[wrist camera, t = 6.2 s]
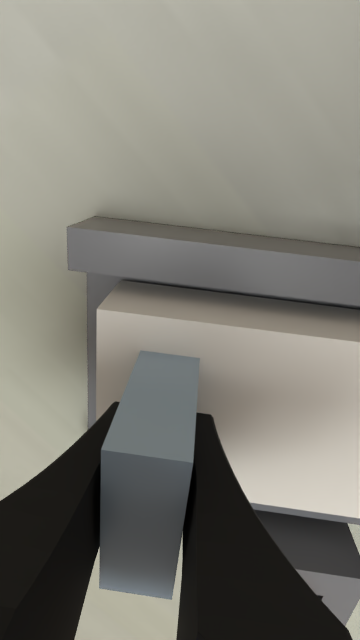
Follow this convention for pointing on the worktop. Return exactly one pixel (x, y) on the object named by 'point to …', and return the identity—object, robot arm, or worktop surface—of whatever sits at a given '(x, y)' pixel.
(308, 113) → the worktop surface
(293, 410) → the white blue stepped block
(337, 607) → the housing
